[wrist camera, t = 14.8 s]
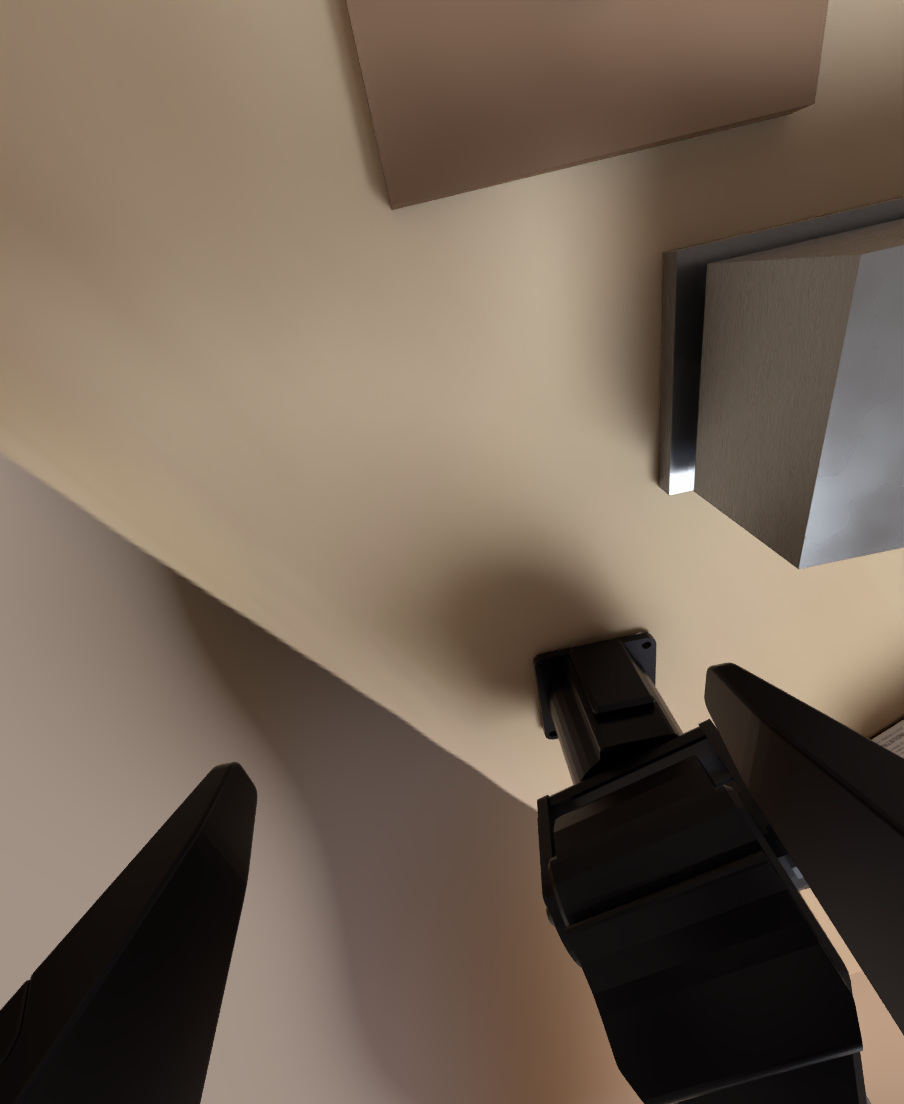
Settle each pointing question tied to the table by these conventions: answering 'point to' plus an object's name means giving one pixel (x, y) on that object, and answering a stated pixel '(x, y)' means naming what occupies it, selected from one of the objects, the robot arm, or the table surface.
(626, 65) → the plate
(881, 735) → the ink cartridge box
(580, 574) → the table surface
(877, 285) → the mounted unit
